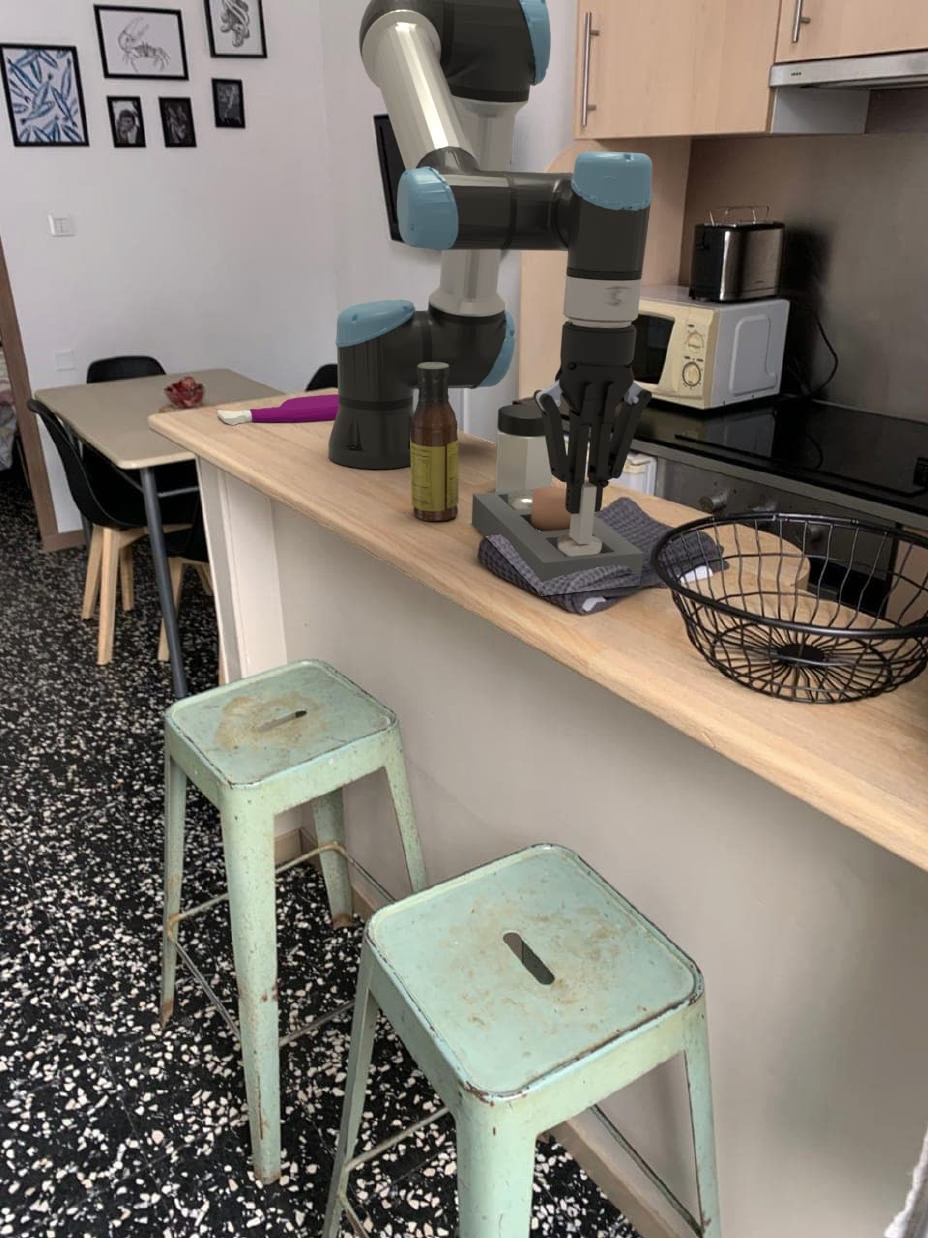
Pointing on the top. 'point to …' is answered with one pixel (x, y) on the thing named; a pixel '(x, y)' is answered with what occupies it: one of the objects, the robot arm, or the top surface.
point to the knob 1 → (520, 500)
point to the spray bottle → (288, 411)
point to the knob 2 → (578, 546)
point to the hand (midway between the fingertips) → (580, 539)
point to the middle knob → (549, 509)
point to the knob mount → (548, 539)
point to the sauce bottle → (434, 447)
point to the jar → (521, 450)
